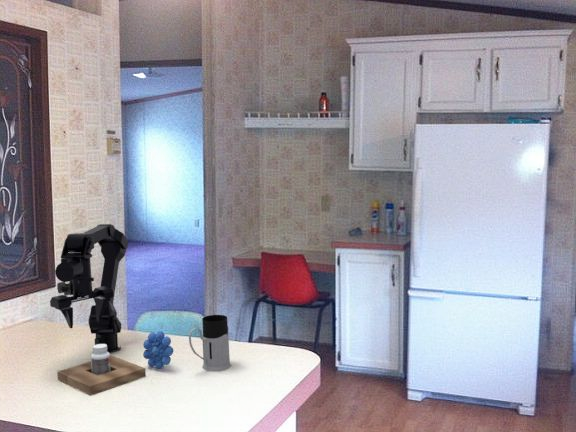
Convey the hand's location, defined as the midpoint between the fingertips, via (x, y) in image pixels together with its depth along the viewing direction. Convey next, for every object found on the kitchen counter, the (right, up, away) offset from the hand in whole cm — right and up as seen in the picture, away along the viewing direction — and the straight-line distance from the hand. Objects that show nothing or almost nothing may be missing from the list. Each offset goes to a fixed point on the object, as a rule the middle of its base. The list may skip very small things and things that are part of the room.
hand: (84, 324), depth 201 cm
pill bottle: (+8, -14, -9) cm, 19 cm away
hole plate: (+8, -14, -9) cm, 19 cm away
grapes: (+24, -13, -2) cm, 27 cm away
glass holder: (+39, -13, -4) cm, 41 cm away
